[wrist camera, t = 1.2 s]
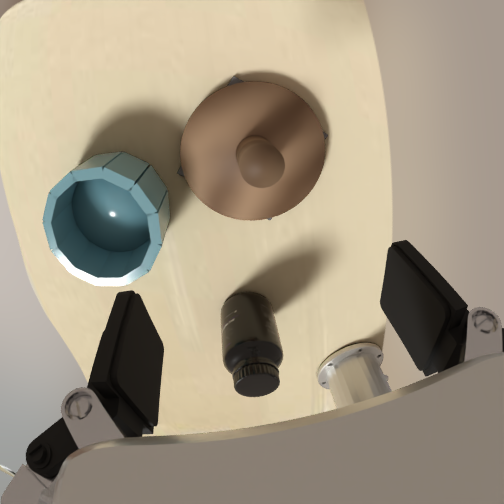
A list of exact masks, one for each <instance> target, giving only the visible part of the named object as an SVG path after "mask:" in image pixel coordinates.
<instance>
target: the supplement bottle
mask: <svg viewBox="0 0 504 504" xmlns="http://www.w3.org/2000/svg"><path fill="white" fill-rule="evenodd" d="M221 334H222V354H223V363H224V366H225V368H226V369H227V370H228V371H229V372H230V373H231V374H232V375H233V380H234V388H235V390H236V391H237V392H238V393H239V394H240V395H243V396H247V397H259V396H264V395H267V394H270V393H271V392H273V391H274V390H276V389H277V388H278V386H279V383H280V380H279V371H278V368H279V366H280V365H281V363H282V360H283V350H282V346H281V342H280V337H279V333H278V329H277V325H276V320H275V316H274V312H273V308H272V305H271V303H270V302H269V301H268V299H266V298H265V297H264V296H262V295H260V294H257V293H251V292H246V293H240V294H237V295H234V296H232V297H231V298H229V299H228V300H227V301H226V302H225V303H224V305H223V307H222V309H221Z"/></svg>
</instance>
